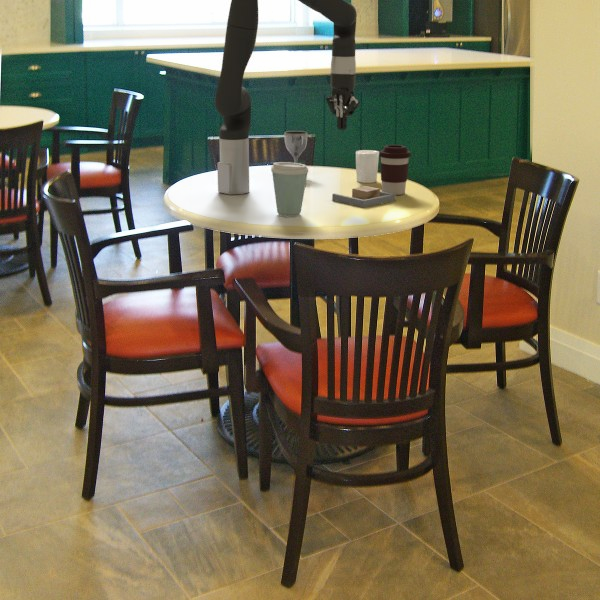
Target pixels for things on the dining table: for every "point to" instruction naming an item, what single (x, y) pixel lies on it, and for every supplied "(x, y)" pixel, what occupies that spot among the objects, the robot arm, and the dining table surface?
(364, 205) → the grey corral
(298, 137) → the wine glass
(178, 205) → the dining table surface
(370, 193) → the walnut block
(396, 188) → the coffee cup
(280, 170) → the disposable coffee cup
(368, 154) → the white cup
